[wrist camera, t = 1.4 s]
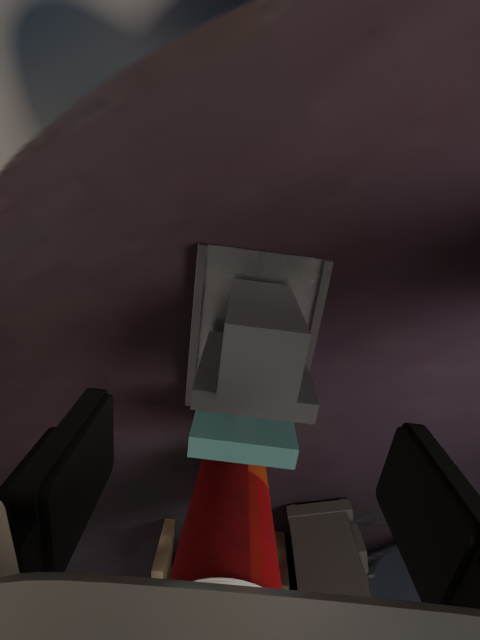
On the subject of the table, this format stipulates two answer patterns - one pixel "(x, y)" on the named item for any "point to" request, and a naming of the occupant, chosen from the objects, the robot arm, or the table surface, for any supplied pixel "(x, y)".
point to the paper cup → (229, 529)
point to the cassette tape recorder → (328, 549)
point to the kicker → (254, 381)
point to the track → (255, 265)
